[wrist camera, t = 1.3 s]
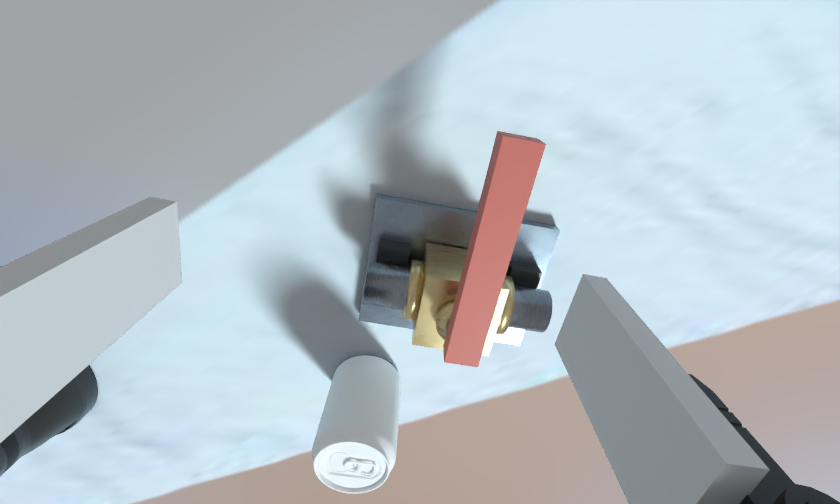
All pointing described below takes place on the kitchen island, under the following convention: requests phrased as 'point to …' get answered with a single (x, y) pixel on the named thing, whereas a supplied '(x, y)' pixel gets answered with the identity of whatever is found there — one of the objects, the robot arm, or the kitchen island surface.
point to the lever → (491, 244)
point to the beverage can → (358, 426)
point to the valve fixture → (448, 272)
